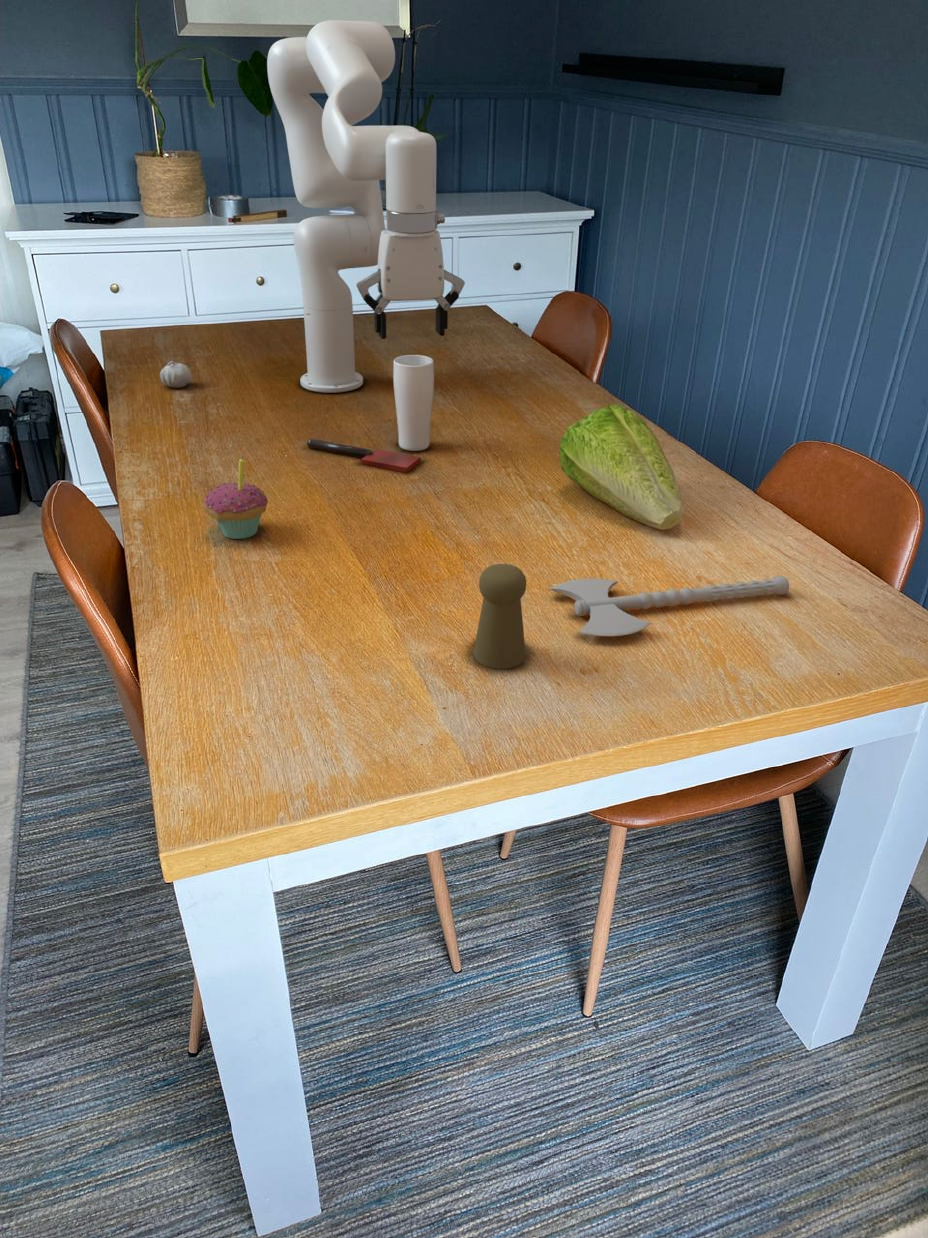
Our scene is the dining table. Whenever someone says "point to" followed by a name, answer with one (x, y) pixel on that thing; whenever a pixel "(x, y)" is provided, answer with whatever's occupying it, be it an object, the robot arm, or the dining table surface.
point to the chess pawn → (501, 617)
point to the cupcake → (236, 507)
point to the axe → (648, 601)
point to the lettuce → (622, 466)
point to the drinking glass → (413, 400)
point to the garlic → (175, 375)
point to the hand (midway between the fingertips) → (411, 335)
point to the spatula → (370, 455)
